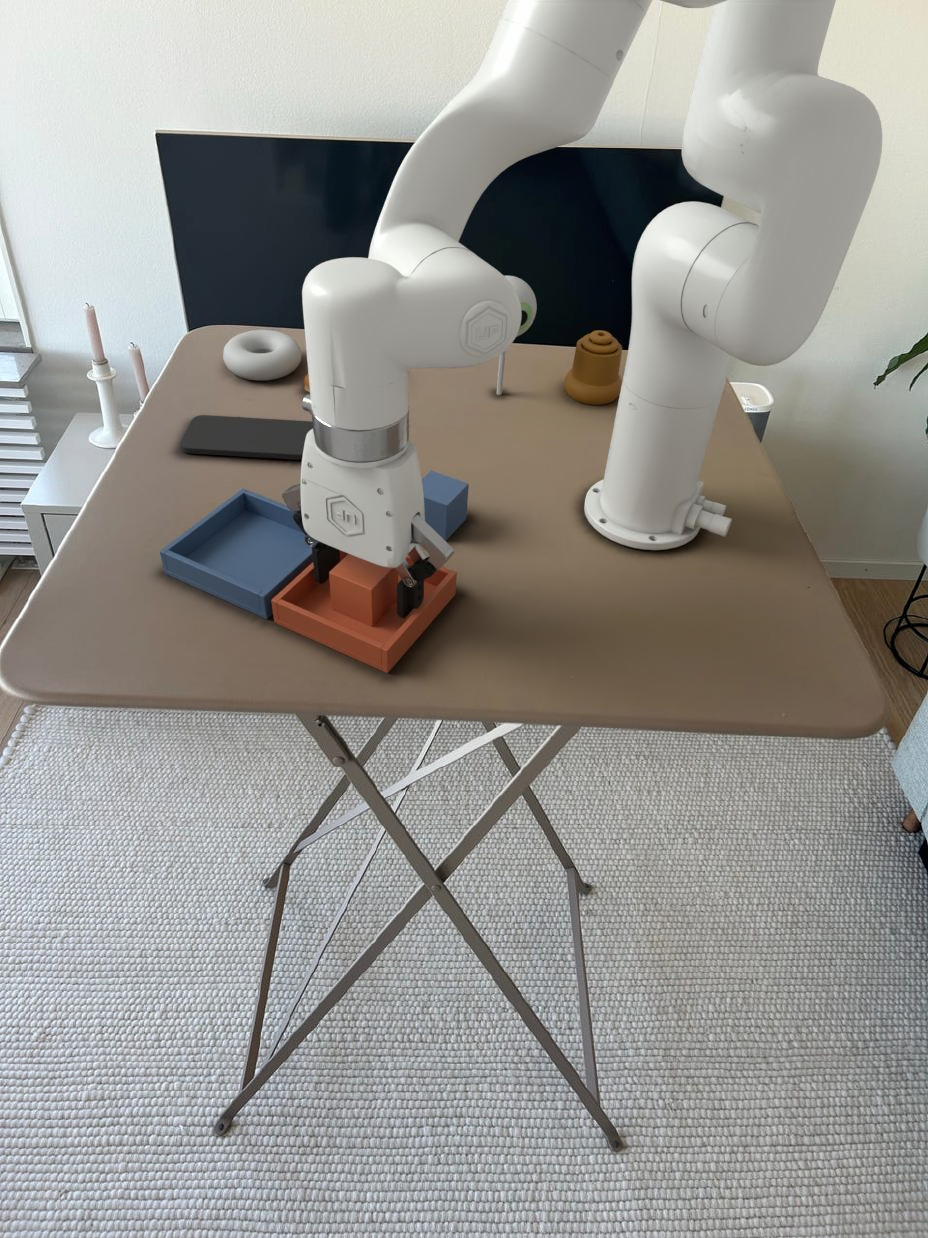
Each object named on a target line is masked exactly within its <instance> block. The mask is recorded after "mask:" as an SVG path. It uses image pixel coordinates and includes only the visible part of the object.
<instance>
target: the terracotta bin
mask: <svg viewBox="0 0 928 1238" xmlns="http://www.w3.org/2000/svg"><path fill="white" fill-rule="evenodd" d="M347 555H348V553H346V552H343V551H341V550H340V562H341V561H342V560H343V559H344V558H345V557H346V556H347ZM406 561H407V562H408V564H409V566H410V567H411V566H412V565H413V564H414V563H413V562H412V560H411V558H410V556H409V555H407V557H406ZM457 575H458V572H457V571H455V570H452V569H450V568H448V567H445V566H442V567H440V568H439V569H438V570H437V571H436V572H435V573H434V574H433V575H432V576H431V577H429V578H427V579H424V598H423V601H422V603H421V605H420V606H419V607H418V608H417V609H415V608H414V609H413V610H412V611H411V612H410V613H409V614H408V616H407V617H406V618H405V619H403V618H401V617H399V616H398V614H397V601H396V602H395V603H394V604H393V605H392V606H391V607H390V608H389V610H388V611H387V612H386V613H385V614H384V615H383V616H382V617H381V618H380V619H379V620H378V621H377V623H376V624H375V625H374V626H373V627H372V626H369V625H367V624H365V623H363V622H360V621H358V620H356V619H353V618H351V617H349V616H346V615H344V614H342V613H339V612H337V611H335V610H332V606H331V592H330V578H329V579H328V580H327V581H326V582H324V583H322V584H320V583H318V582H316V581H315V573H314V565H313V563H311V564H310V565H309V566H308V567H307V568H306V569H305V570H304V571H303V572H302V573H300V574H299V575H298V576H297V577H296V578H295V579H294V580H293V581H292V582H291V583H290V584H288V585H287V586H286V587H285V588H284V589H283V590H282V591H281V592H280V593H279V594H278V595H276V596H275V597H274V598H273V599H272V600H271V602H272V609H273V614H272V617H273V623H274V624H276V625H279V626H281V627H282V628H284V629H287V630H290V631H292V632H294V633H297V634H298V635H300V636H303V637H305V638H308V639H309V640H312V641H314V642H317V643H318V644H321V645H323V646H325V647H328V648H330V649H332V650H335V651H336V652H339V653H341V654H343V655H346V656H348V657H350V658H352V659H355V660H357V661H359V662H361V663H362V664H366V665H368V666H370V667H372V668H375V669H377V670H379V671H381V672H384V673H385V674H389V672H391V670H392V669H393V667H394V666H395V665H396V664H397V663H398V662H399V661H400V660H401V659H402V658H403V656H404V655H405V654H406V653H407V652H408V650H409V649H410V648H411V647H412V646H413V645H414V643H415V642H416V641H417V640H418V639H419V637H421V635H422V634H423V633H424V632H425V631H426V629H427V628H428V627H429V626H430V625H431V624H432V622H433V621H434V620H435V619H436V618H437V617H438V615H439V614H440V613H441V612H442V611H443V609H444V608H445V607H446V606H447V605H448V604H449V603H450V601H451V600H452V599H453V598H454V597H455V595H456V594H457V593H456V591H457V590H456V589H457ZM400 580H401V578H400V576H399V574H398V583H399V582H400Z"/></svg>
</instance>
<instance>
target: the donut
mask: <svg viewBox="0 0 928 1238" xmlns="http://www.w3.org/2000/svg"><path fill="white" fill-rule="evenodd" d="M222 360H223V363H224V364H225V366H226V368H227V369H228V370H229V371H230V372H232V373H233V374H234V375H235V376H237V377H238V378H239V377H240V378H243V379H245V380H250V381H273V380H278V379H280V378H281V379H282V378H284V377H286V376H288V375H290V374H292V373H293V372H294V371H295V370H297V368H298V367H299V365H300V363H301V361H302V350H301V347H300V345H299V344H298V342H297V340H296V339H294V338H293V337H292V336H290V335H288V334H287V333H285V332H281V331H278V330H271V329H255V330H254V329H253V330H249V331H245V332H241V333H238V334H237V335H235V336H233V337H232V338H230V339H229V341H228V342H227V343H226V344H225V345H224V348H223V353H222Z"/></svg>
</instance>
